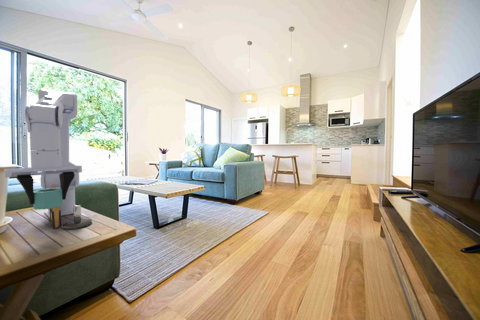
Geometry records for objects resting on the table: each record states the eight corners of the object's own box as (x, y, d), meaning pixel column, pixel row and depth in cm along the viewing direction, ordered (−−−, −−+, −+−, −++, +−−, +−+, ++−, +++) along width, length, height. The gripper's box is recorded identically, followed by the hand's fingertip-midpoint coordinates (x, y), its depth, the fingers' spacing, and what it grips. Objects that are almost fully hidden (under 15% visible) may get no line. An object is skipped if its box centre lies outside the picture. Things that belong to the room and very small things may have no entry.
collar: (32, 206, 52) (31, 190, 52) (59, 202, 56) (58, 187, 56) (35, 210, 49) (35, 193, 49) (64, 205, 53) (63, 190, 53)
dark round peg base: (59, 225, 60) (58, 206, 59) (87, 219, 65) (87, 201, 65) (65, 231, 55) (65, 211, 55) (95, 224, 61) (94, 205, 61)
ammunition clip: (61, 227, 59) (60, 187, 58) (52, 229, 57) (51, 188, 57) (57, 218, 66) (56, 183, 65) (49, 219, 64) (48, 183, 64)
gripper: (4, 151, 44) (7, 210, 44) (84, 151, 55) (86, 198, 56) (2, 150, 48) (5, 205, 49) (77, 150, 60) (78, 194, 60)
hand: (48, 201), depth 53 cm, fingers closed on collar, 5 cm apart
